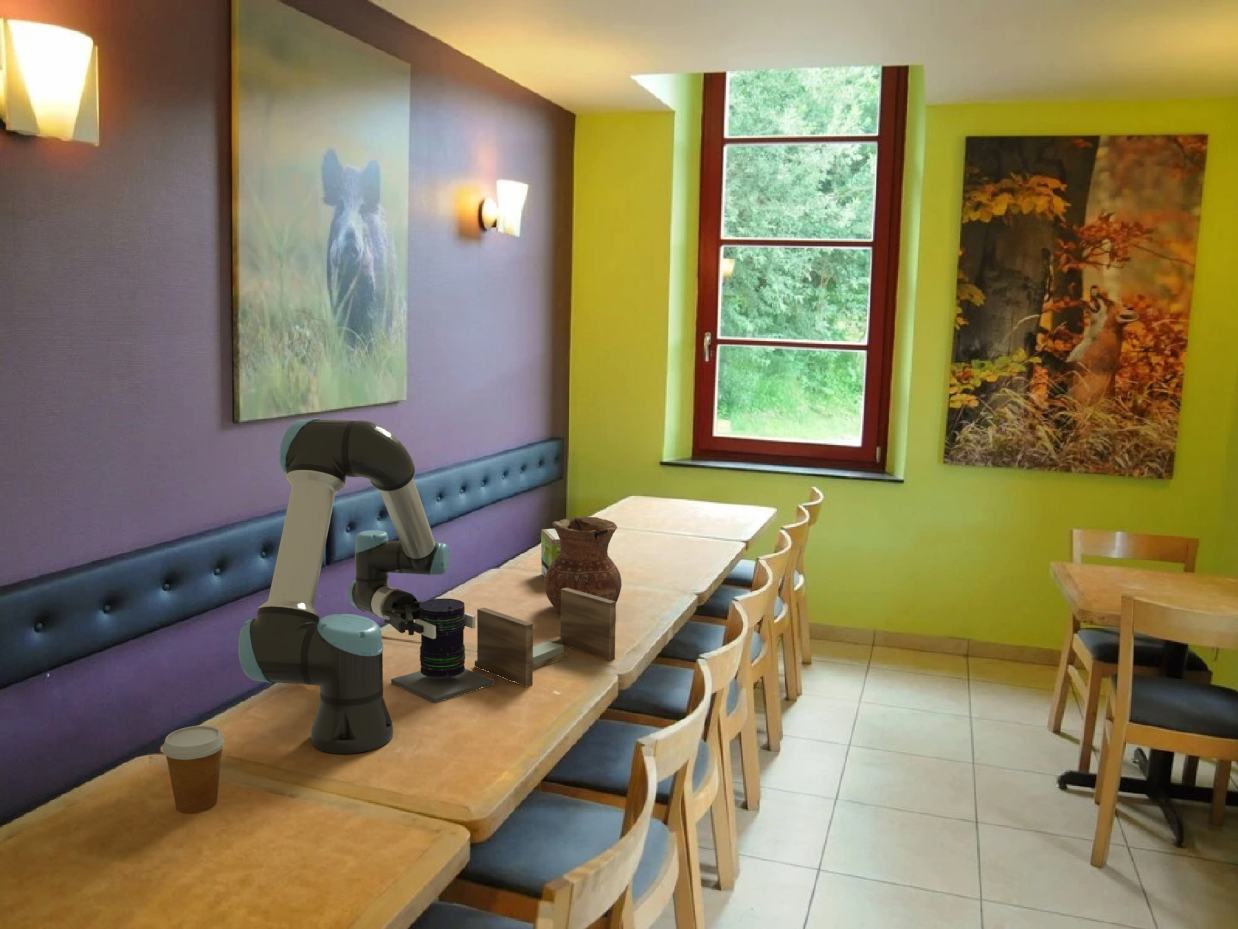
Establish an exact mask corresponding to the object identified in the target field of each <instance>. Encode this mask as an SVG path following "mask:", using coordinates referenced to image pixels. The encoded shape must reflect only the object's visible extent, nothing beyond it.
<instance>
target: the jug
mask: <svg viewBox="0 0 1238 929" xmlns="http://www.w3.org/2000/svg"><path fill="white" fill-rule="evenodd" d="M552 527H553V529H555V530H556V532H557V534H558V536H559V539H560V544H561V553H560V555H559V556H558V557H557V558H556V559H555V560H554V561H553V562H552V564H551V565H550V566H549V568H548V570H547V573H546V575H545V576H544V590H545V591H544V592H545V594H546V597H547V599H548V601H549V602H550V604H551V605H552V607H553V608H554V609H556V610H557V611H558V612H559V613H561V589H563V588H570V589H573V590H577V591H580V592H584V593H587V594H591V595H594V596H598V597H601V598H605V599H608V600H612V601H615V602H616V603H617V602H618V600H619V597H620V594H621V590H622V577H621V573H620V571H619V568H618V567H617V565H616V564H615V562H614V561H613V560H612V559H611V557H609V554H608V553H609V552H608V550H609V544H610V542H611V539H612V537H613V535H614V533H615V532H616V531H617V529H618V525H617V524H616V523H615V522H613V521H611V520H608V519H605V518H599V517H597V516H575V517H572V518H563V519H560V520H559V521H555V520H554V521H552Z"/></svg>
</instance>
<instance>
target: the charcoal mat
mask: <svg viewBox="0 0 1238 929" xmlns="http://www.w3.org/2000/svg"><path fill="white" fill-rule="evenodd" d="M390 684H391V685H394V686H396V687H398V688H400V687H401V689H402V688H403V689H402V690H405V691H407V692H409V693H411V694H413V693H414V695H416V696H418V697H420V698H423V699H424V700H427V701H428V702H431V703H434V704H436V703H440V702H442V700H443V701H445V700H444V699H446V700H449V699H452V698H456V697H458V695H459V696H462V695H465V694H468V693H471V691H472V692H475V691H477V690H476V689H478V690H480V689H479V688H481V687H485V688H487V686H488V687H491V686H493V685H492V684H494V685H495V680H494V679H492V678H490V677H487V676H485V675H482V674H480V673H477V672H475V671H473V670H470V669H468V668H465V671H464V672H463V673H462V674H460V675H457V676H454V677H448V678H432V677H427V676H425V675H423V674H421V671H420V670H418V671H415V672H412V673H408V674H404V675H401V676H396V677H393V678H390ZM490 685H491V686H490ZM474 690H475V691H474ZM464 693H465V694H464ZM461 694H462V695H461ZM455 696H456V697H455Z"/></svg>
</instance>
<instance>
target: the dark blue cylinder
mask: <svg viewBox="0 0 1238 929" xmlns="http://www.w3.org/2000/svg"><path fill="white" fill-rule="evenodd" d="M421 602H422V601H421ZM464 607H465V602H464V601H462V600H459V599H456V598H445V597H444V598H442V597H441V598H433V599H429V600H424V601H423V602H422V603H421V604H420V617H419V620H421V621H424V622H427V623H429V624H432V625H435V626H436V638H435V639H432V638H429V637H427V636H424V635H422V634H420V641H421V642H420V643H421V644H420V647H419V653H420V654H419V661H420V669H419V671H421V674H423V675H425V676H427V677H432V678H448V677H454V676H457V675H460V674H462V673H463V672H464V671H465V669H466V668H465V667H466V666H465V663H466V662H465V659H466V653H465V652H466V651H465V650H466V648H465V644H464V643H465V642H464V639H465V638H464V636H465V635H464V634H465V633H464V630H465V628H466V626H465V622H464V621H465V613H466V612H465V611H464Z"/></svg>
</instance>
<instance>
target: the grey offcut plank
mask: <svg viewBox="0 0 1238 929" xmlns="http://www.w3.org/2000/svg"><path fill="white" fill-rule="evenodd" d="M564 647H565V645H560V644H556V643H552V642H548V641H546V642H544V643H541V644H539V645H536V646H533V665H535V664H537V663H540V662H542V661H545V660H547V659H550V658H552V657H554V656H557V655H559V654H562V653H565V652H564V650H565V648H564Z"/></svg>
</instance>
